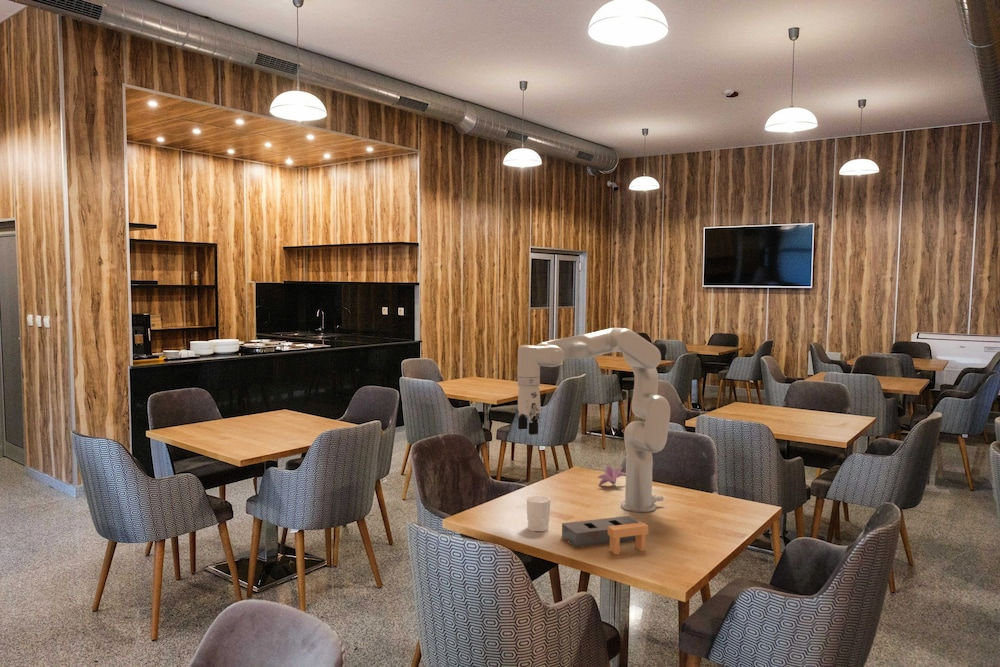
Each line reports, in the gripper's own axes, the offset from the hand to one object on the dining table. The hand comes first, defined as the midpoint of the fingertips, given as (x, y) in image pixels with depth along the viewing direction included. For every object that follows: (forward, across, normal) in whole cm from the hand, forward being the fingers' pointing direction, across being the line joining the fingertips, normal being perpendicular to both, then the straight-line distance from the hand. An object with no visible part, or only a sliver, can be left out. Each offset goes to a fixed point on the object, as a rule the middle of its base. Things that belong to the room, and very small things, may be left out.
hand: (527, 431), depth 240 cm
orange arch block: (+31, -36, -19) cm, 51 cm away
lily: (+31, +29, -48) cm, 64 cm away
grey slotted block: (+31, -24, -17) cm, 42 cm away
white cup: (+31, -9, -1) cm, 32 cm away
